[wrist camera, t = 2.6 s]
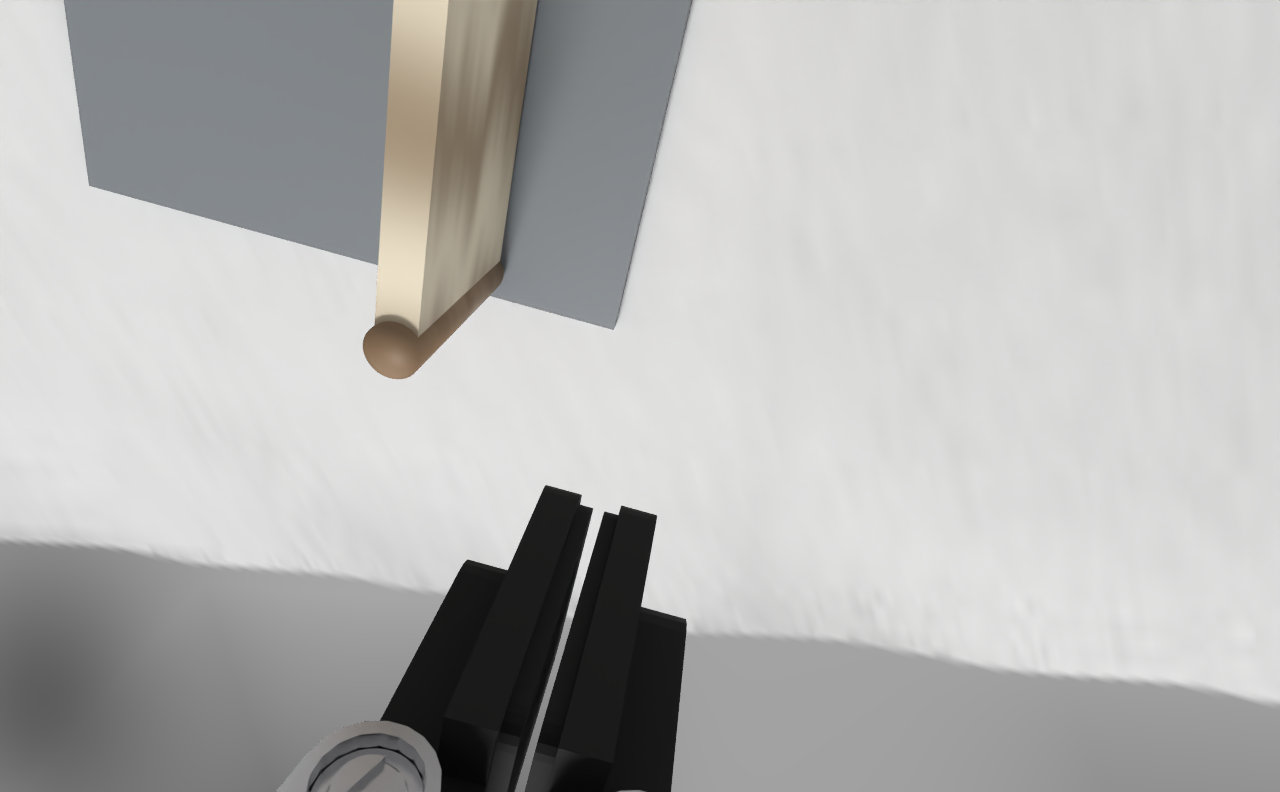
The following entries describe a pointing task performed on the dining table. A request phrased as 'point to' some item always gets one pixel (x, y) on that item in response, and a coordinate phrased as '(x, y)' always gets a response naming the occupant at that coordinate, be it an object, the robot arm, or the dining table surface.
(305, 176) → the board
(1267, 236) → the dining table surface
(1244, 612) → the dining table surface
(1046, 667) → the dining table surface
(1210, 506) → the dining table surface
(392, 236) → the fence gate
